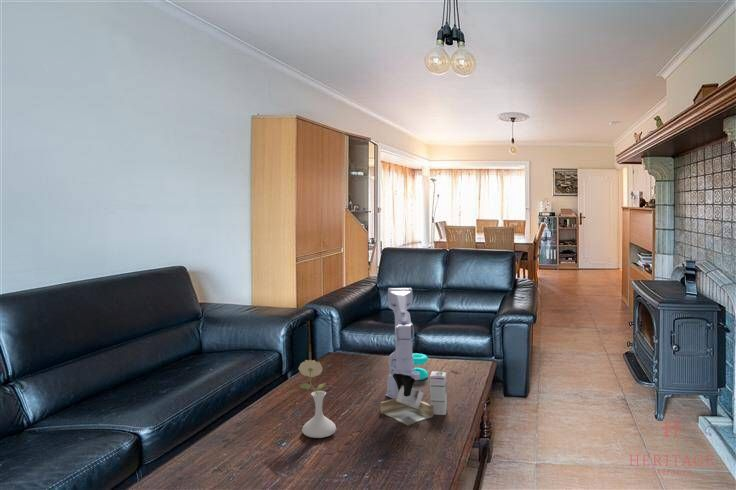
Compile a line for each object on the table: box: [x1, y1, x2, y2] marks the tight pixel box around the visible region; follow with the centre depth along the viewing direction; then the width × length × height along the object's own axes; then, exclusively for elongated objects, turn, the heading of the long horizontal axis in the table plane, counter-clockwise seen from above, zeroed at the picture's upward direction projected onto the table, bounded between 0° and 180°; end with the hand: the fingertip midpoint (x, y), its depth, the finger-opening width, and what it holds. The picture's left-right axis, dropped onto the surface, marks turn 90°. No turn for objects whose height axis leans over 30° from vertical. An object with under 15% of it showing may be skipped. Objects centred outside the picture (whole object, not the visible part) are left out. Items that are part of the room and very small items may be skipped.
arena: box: [379, 398, 434, 427], centre depth 178 cm, size 15×13×4 cm
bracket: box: [396, 384, 424, 409], centre depth 176 cm, size 7×5×6 cm
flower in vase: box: [297, 359, 337, 439], centre depth 163 cm, size 13×11×25 cm
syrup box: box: [429, 370, 448, 416], centre depth 181 cm, size 6×6×14 cm
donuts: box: [412, 352, 429, 381], centre depth 221 cm, size 10×10×10 cm
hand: (404, 394), depth 176 cm, fingers closed on bracket, 2 cm apart
